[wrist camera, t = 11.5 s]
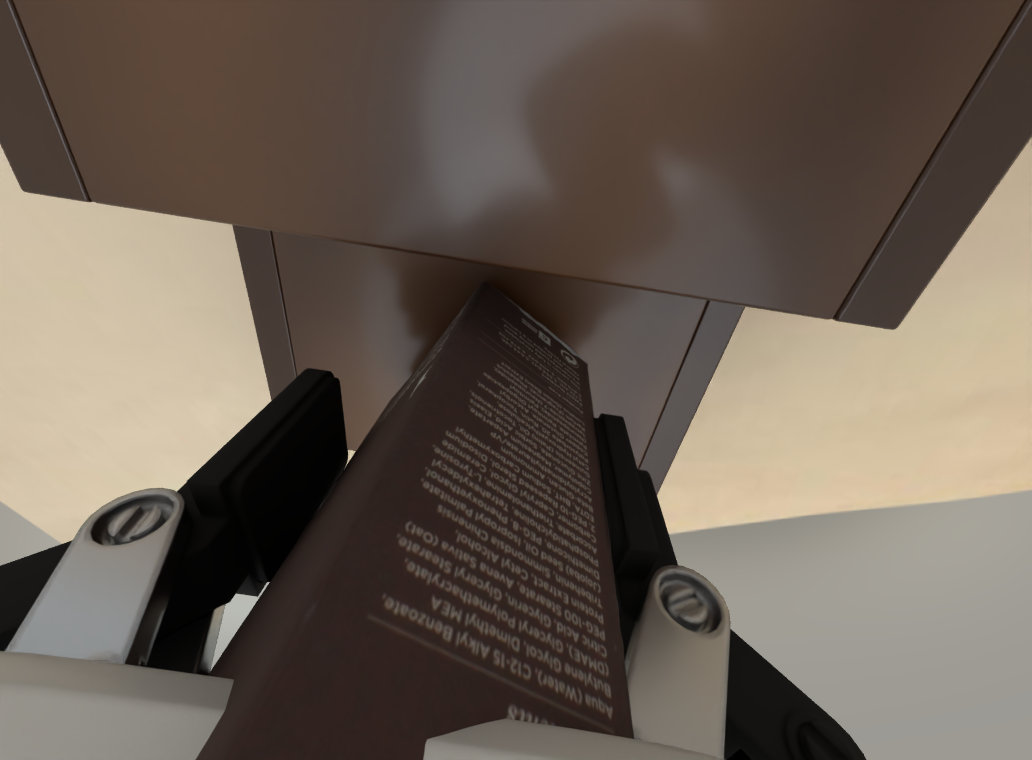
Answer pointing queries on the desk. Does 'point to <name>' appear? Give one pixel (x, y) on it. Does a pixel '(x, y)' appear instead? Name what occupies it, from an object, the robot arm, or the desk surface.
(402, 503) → the box
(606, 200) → the step shelf
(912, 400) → the desk surface
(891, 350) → the desk surface
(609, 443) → the robot arm
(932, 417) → the desk surface
